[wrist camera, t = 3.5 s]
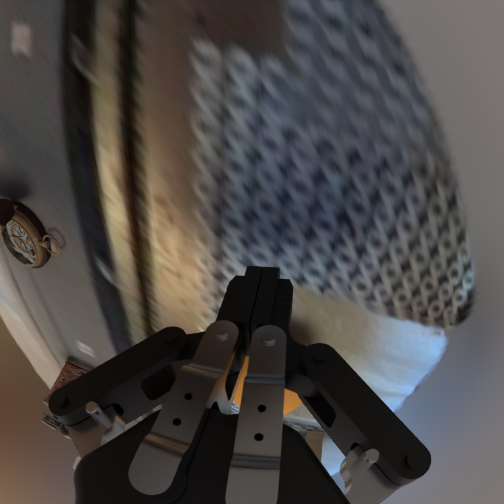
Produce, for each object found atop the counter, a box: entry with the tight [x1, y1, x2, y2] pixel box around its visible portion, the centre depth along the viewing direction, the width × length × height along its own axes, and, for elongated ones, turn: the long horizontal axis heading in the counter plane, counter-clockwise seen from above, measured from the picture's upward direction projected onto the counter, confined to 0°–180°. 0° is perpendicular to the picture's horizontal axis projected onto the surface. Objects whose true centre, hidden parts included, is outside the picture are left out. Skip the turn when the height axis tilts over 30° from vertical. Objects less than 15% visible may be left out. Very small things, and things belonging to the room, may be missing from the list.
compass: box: [0, 199, 60, 268], centre depth 17 cm, size 8×8×7 cm
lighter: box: [41, 356, 96, 439], centre depth 30 cm, size 8×3×10 cm, turn 73°
